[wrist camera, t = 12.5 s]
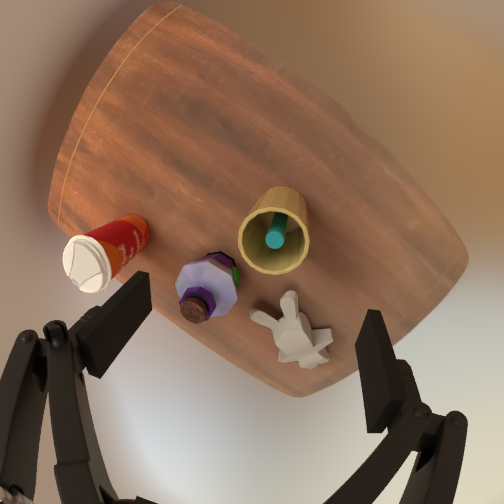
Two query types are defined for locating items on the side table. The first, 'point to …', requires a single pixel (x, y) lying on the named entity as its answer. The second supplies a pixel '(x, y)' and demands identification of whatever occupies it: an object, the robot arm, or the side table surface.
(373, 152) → the side table surface
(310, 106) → the side table surface
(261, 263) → the can
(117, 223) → the paper cup
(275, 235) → the teal cylinder rod
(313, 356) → the bunny figurine
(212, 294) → the potion bottle
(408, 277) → the side table surface
